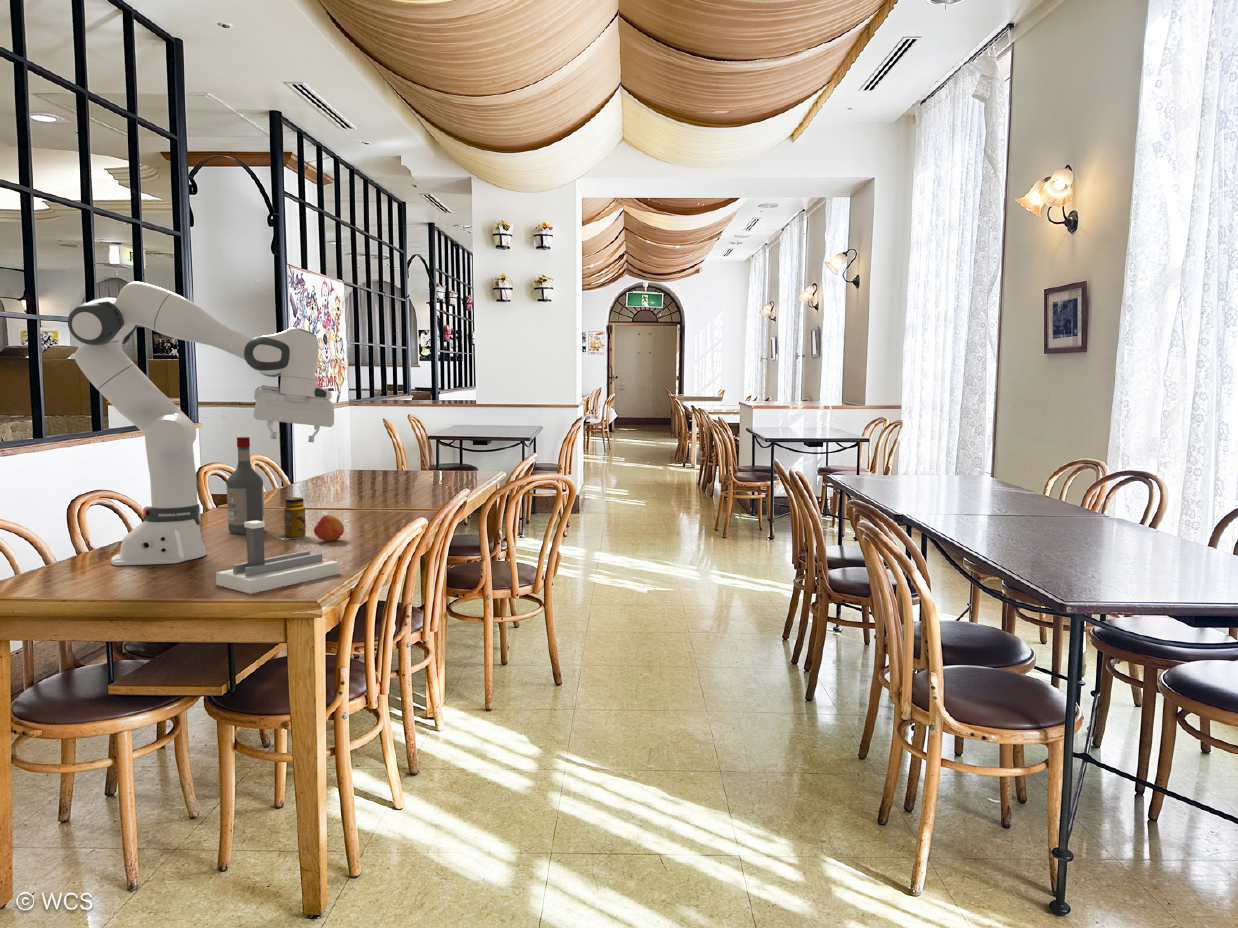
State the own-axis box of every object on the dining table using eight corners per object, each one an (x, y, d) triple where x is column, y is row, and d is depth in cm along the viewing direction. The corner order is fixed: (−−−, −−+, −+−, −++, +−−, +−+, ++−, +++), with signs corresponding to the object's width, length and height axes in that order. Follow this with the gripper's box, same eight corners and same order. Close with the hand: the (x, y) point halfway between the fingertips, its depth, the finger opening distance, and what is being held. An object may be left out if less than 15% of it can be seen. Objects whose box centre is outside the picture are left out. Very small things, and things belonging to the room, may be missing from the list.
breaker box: (250, 593, 188) (249, 572, 188) (216, 584, 196) (215, 564, 196) (339, 573, 208) (338, 554, 208) (305, 566, 216) (304, 547, 215)
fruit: (321, 538, 253) (320, 512, 252) (347, 538, 253) (346, 512, 252) (311, 543, 245) (310, 516, 245) (338, 543, 245) (337, 517, 244)
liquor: (242, 535, 257) (238, 438, 254) (225, 531, 262) (221, 437, 259) (268, 530, 265) (265, 437, 262) (251, 527, 270) (247, 436, 267)
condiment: (311, 536, 256) (309, 498, 254) (283, 540, 250) (282, 501, 248) (301, 533, 261) (299, 495, 260) (274, 537, 255) (272, 498, 254)
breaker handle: (254, 573, 195) (253, 523, 194) (246, 570, 197) (244, 522, 196) (266, 570, 197) (264, 521, 196) (257, 568, 199) (256, 520, 198)
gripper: (254, 383, 215) (249, 436, 216) (337, 393, 222) (331, 444, 223) (256, 384, 221) (251, 436, 221) (336, 394, 228) (331, 444, 228)
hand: (292, 440), depth 222 cm, fingers open, 8 cm apart
